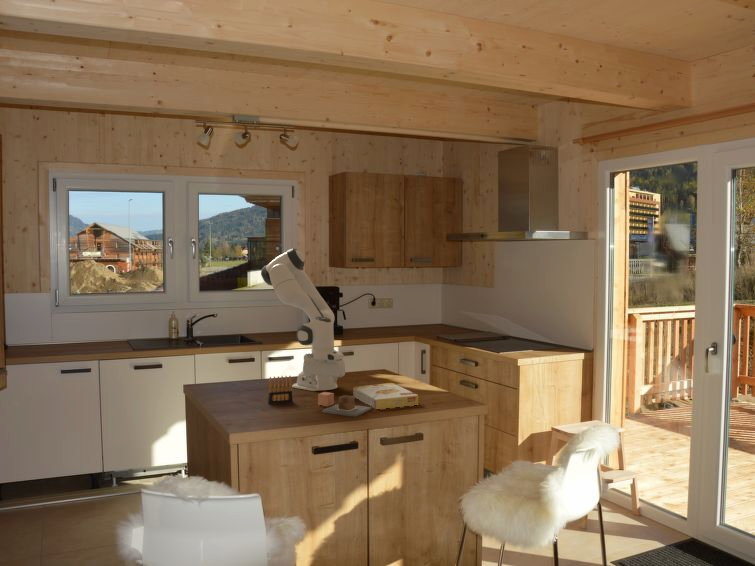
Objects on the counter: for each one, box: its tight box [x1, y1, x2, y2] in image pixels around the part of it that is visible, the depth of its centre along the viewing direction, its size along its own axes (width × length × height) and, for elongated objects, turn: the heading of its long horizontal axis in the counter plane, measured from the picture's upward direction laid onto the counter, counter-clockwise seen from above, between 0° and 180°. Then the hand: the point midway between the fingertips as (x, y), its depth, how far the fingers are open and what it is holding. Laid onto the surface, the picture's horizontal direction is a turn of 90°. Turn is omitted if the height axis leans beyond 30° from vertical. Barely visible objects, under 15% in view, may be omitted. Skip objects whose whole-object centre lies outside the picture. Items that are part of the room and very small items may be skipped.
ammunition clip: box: [267, 375, 293, 405], centre depth 302 cm, size 11×2×12 cm, turn 111°
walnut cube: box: [338, 394, 356, 410], centre depth 287 cm, size 5×5×5 cm
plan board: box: [321, 402, 372, 418], centre depth 287 cm, size 16×14×1 cm
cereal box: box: [352, 382, 419, 410], centre depth 305 cm, size 20×6×28 cm
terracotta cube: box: [317, 391, 335, 407], centre depth 298 cm, size 5×5×5 cm
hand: (323, 385), depth 298 cm, fingers open, 8 cm apart
